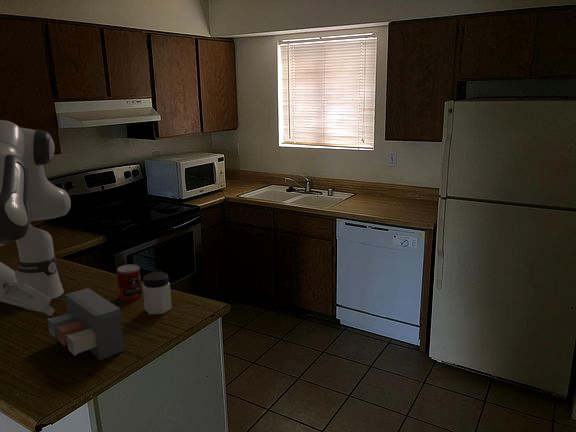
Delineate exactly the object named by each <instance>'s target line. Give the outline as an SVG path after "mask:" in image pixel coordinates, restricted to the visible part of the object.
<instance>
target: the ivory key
mask: <svg viewBox="0 0 576 432" xmlns="http://www.w3.org/2000/svg"><path fill="white" fill-rule="evenodd" d="M66 336H67V350H68V351H69V352H70V353H71V354H72V355H73V356H77V354H80V353H84V352H86V351H89V349H91V348H94V347H97V341H96V332H94V331H93V330H92V329H91V328H89V329H86V330H83V331H80V332H77V333H74V334H71V335H66Z"/></svg>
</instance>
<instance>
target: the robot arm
mask: <svg viewBox="0 0 576 432" xmlns="http://www.w3.org/2000/svg"><path fill="white" fill-rule="evenodd" d="M55 150H56V147H55V141H54V139H53V136H52V135H51V134H50V133H49V132H48V131H45V130H42V129H31V128H27V127H21V126H19V125H17V124H16V123H14V122H12V121H9V120H3V119H0V247H2V246H5V245H6V244H10V243H12V242H15V244H16V247H17V251H18V257H19V259H18V260H15V261H13V263H14V264H13V266H16V269H15V270H14V269H12V268H11V267H10V266H8V265H6V264H5V263H4V262H1V261H0V303H5V304H9V305H13V306H17V307H21V308H23V309H25V310H28V311H35V312H38V313H43V314H45V315H46V316H53V315H54V312H55V308H53V307H52V306H50V303H51V301H52V300H54V299H56V298H58V297H60V296H62V295H63V294H64V292H65V290H64V288H63V285H62V284H63V283H61V279H60V276H59V272H58V269H57V266H58V263H57V262H58V261H57V255H55V251H54V242H53V241H54V240H53V237H52V235H51V234H50V233H49V232H48V231H46V230H43V229H41V228H37V227H34V226H33V225H32V223H31V222H32V221H34V222H35V221H43V220H44V221H45V220H52V219H53V220H54V219H56V218H61V217H64V216H66V215H67V214H68V212H69V211H70V209H71V207H72V205H71V204H72V203H71V197H70V195H69V194H68V192H67V191H66V190H65V189H63V188H61V187H58V186H56V185H55V184H53V183H52V182H50V181H49V179H48V178H47V176H46V173H45V169H44V165H48V164H49V163H50V162H52V159H53V156H54V155H55Z"/></svg>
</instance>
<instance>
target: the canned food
mask: <svg viewBox="0 0 576 432" xmlns="http://www.w3.org/2000/svg"><path fill="white" fill-rule="evenodd" d="M116 270H117V271H116V272H117V273H116V274H117V284H118V294H119V298H120V300H122V301H125V302H131V301H136V300H138V299H141V297H142V295H143V294H142V293H143V290H142V280H141V279H142V278H141V269H140V266H139V265H138V264H133V263H132V264H124V265H121V266H119V267H118V268H117V269H116Z"/></svg>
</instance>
